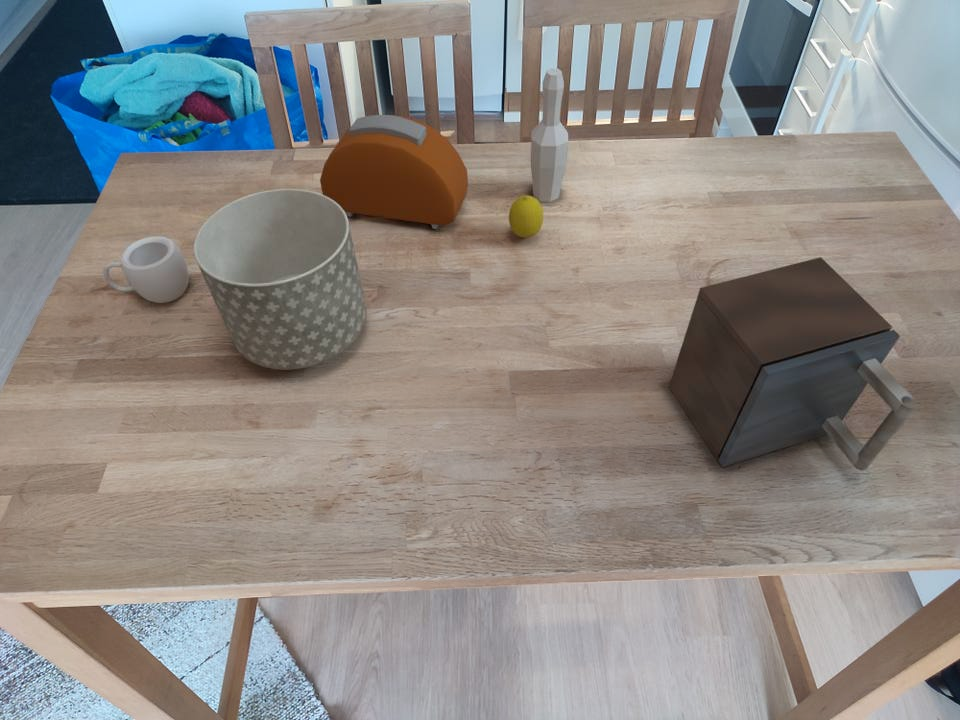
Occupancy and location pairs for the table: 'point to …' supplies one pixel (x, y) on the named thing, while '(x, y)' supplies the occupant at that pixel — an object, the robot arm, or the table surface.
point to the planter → (283, 277)
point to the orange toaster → (396, 171)
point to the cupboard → (761, 337)
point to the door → (820, 402)
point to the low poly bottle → (549, 141)
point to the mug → (152, 269)
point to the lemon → (526, 216)
